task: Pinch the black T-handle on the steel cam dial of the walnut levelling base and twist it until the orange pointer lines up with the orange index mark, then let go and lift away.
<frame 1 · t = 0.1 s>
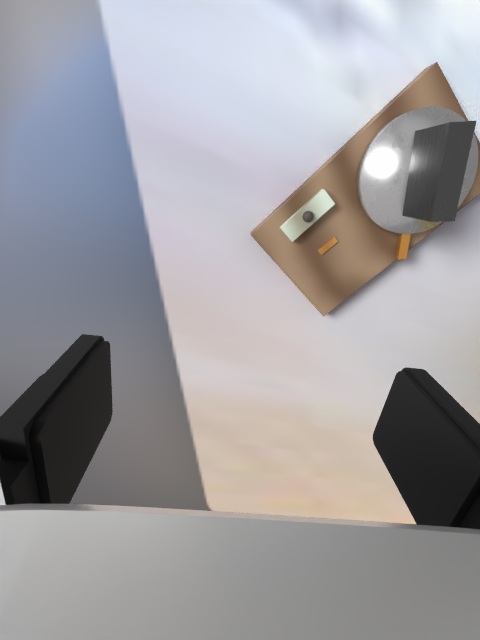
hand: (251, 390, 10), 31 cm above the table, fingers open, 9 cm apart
cam dial: (426, 191, 32), point 6 cm above the table, hinge at 50.0°
levelling base: (365, 206, 38), on the table
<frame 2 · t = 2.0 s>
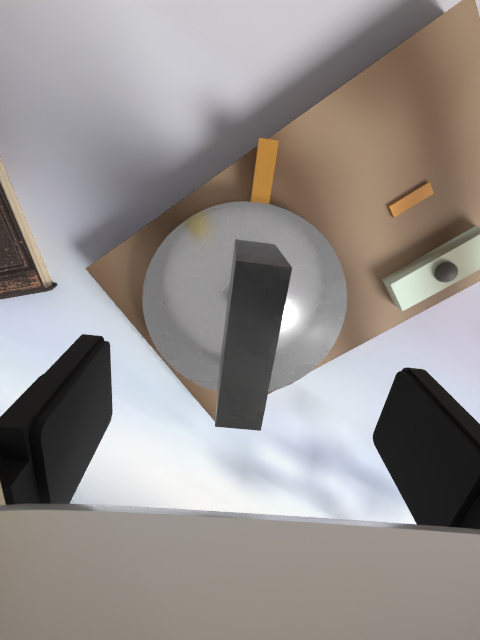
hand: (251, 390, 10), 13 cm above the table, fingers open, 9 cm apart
cam dial: (250, 296, 16), point 6 cm above the table, hinge at 50.0°
levelling base: (306, 252, 21), on the table
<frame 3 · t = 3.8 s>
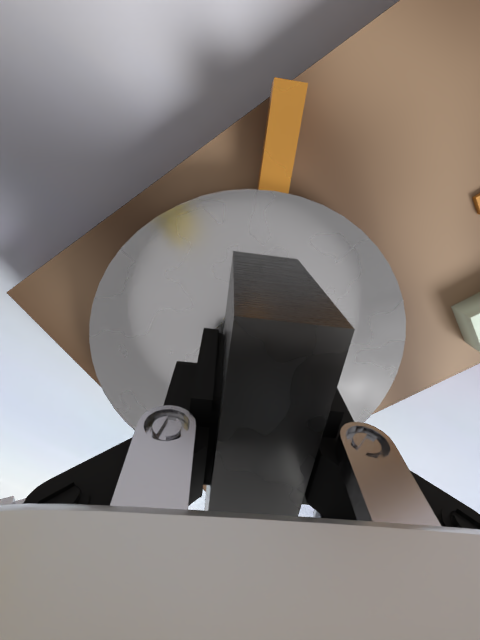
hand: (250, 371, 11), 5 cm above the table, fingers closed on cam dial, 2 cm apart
cam dial: (258, 348, 10), point 6 cm above the table, hinge at 50.0°, touching gripper
levelling base: (337, 264, 15), on the table
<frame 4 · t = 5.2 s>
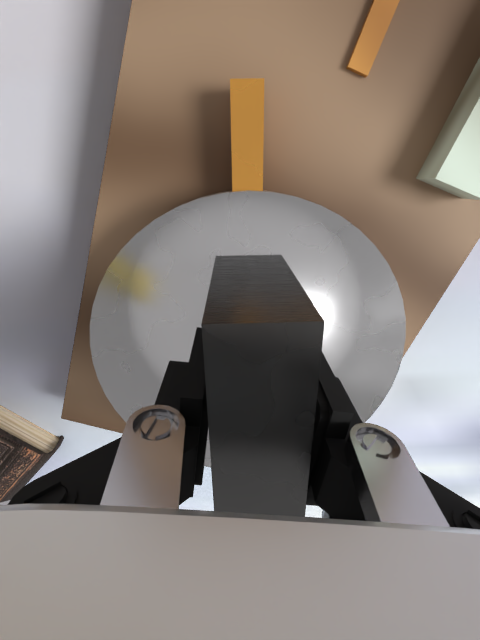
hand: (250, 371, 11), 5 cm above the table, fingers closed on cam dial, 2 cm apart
cam dial: (251, 349, 10), point 6 cm above the table, hinge at 20.5°, touching gripper
levelling base: (284, 220, 14), on the table
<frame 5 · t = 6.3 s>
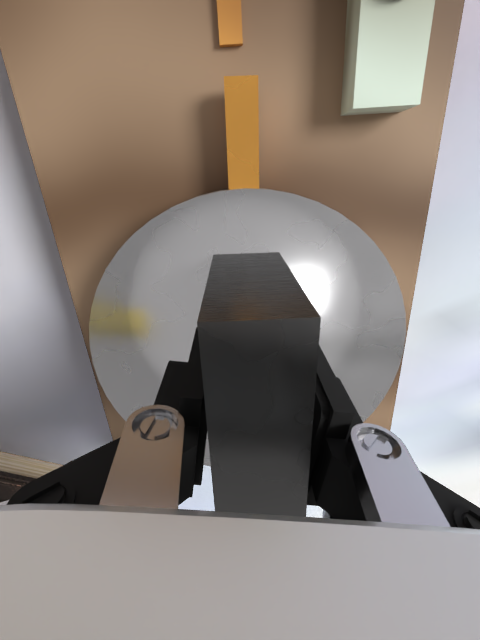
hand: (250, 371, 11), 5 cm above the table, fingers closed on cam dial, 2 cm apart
hardcover book: (0, 550, 24), on the table
cam dial: (250, 347, 10), point 6 cm above the table, hinge at -1.4°, touching gripper
levelling base: (239, 211, 14), on the table
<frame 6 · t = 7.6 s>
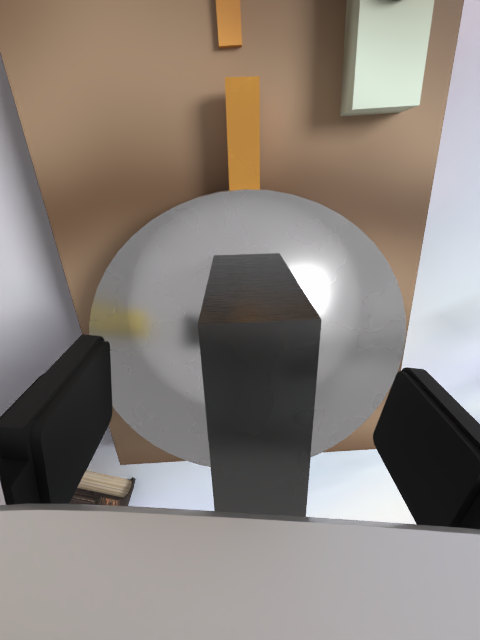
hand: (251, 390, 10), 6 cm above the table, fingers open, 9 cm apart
hardcover book: (0, 551, 24), on the table
cam dial: (251, 348, 10), point 6 cm above the table, hinge at -1.7°
levelling base: (239, 212, 14), on the table
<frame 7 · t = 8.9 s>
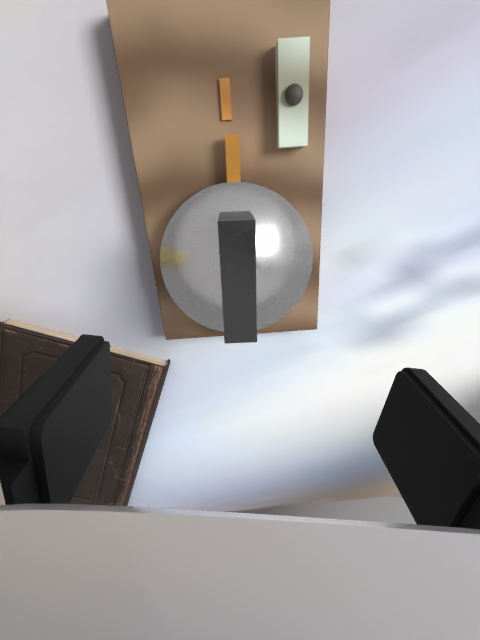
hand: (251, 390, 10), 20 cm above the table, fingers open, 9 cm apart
hardcover book: (78, 420, 37), on the table
cam dial: (236, 251, 23), point 6 cm above the table, hinge at -1.7°
levelling base: (232, 194, 26), on the table
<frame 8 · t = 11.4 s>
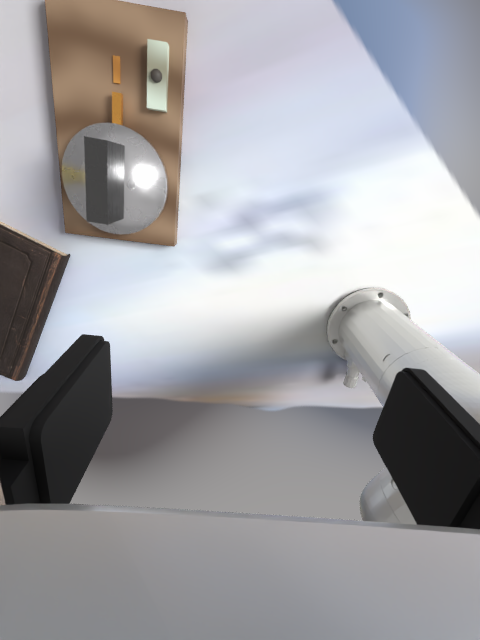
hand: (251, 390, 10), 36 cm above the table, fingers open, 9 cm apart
cam dial: (108, 167, 35), point 6 cm above the table, hinge at -1.7°
levelling base: (123, 137, 39), on the table
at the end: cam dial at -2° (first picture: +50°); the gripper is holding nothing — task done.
